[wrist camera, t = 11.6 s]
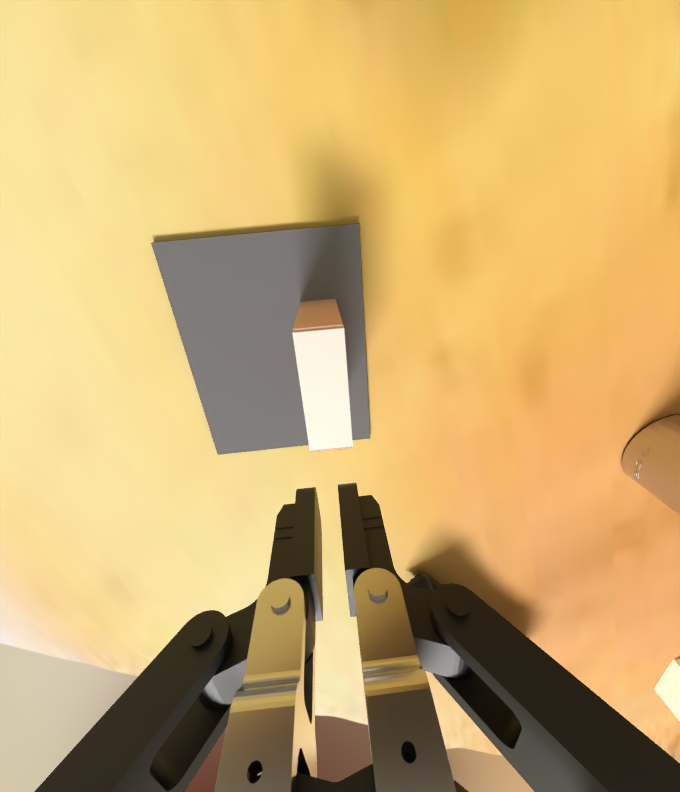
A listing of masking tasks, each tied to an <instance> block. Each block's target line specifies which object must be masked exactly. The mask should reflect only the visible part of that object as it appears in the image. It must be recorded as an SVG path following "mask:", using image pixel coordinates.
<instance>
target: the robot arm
mask: <svg viewBox="0 0 680 792" xmlns="http://www.w3.org/2000/svg"><path fill="white" fill-rule="evenodd" d="M622 467H623V470H624V472H625V473H626V474H627V475H628V476H629V477H631V478H632V479H633V480H635V481H636V482H637V483H638V484H640V485H641V486H642V487H644V488H645V489H646V490H648V491H649V492H650V493H652V494H653V495H654V496H655V497H657V498H658V499H659V500H660V501H662V502H663V503H664V504H666V505H667V506H668V507H670V508H671V509H672V510H674V511H675V512H676V513H677V514H679V515H680V415H673V416H670V417H666V418H663V419H661V420H658V421H656V422H654V423H652V424H651V425H649V426H647V427H646V428H645V429H643V430H642V431H641V432H639V433H638V434H637V435H636V436H635V437H634V438H633V439H632V441H631V442H630V443H629V445H628V446H627V448H626V450H625V452H624V454H623V458H622ZM338 492H339V504H340V516H341V528H342V539H343V551H344V563H345V574H346V582H347V590H348V599H349V607H350V616H351V617H355V616H357V626H358V635H359V645H360V654H361V663H362V672H363V681H364V690H365V699H366V708H367V718H368V727H369V736H370V745H371V754H372V764H371V765H369V766H367V767H365V768H364V769H362V770H360V771H358V772H356V773H354V774H353V775H351V776H349V777H347V778H345V779H344V780H342V781H339V782H329V781H326V780H322V779H319V778H317V755H316V740H315V621H322V620H323V596H322V531H321V518H320V511H319V504H318V498H317V492H316V487H313V488H304V489H297V491H296V502H295V504H287V505H284V506H283V507H282V509H281V510H280V512H279V514H278V515H277V519H276V526H275V533H274V541H273V547H272V554H271V561H270V568H269V575H268V581H267V584H266V587H265V588H264V589H263V591H262V592H261V593H260V595H259V597H258V599H257V600H256V601H255V602H254V603H252V604H251V605H250V606H248V607H246V608H244V609H242V610H240V611H238V612H236V613H233V614H231V615H229V616H227V617H225V616H224V615H223V614H222V613H221V612H219V611H215V610H210V611H205V612H202V613H200V614H198V615H196V616H194V617H193V618H192V619H191V620H189V621H188V622H187V623H186V624H185V625H184V627H183V628H182V629H181V630H180V631H179V632H178V633H177V634H176V635H175V637H174V638H173V639H172V640H171V641H170V642H169V643H168V644H167V645H166V647H165V648H164V649H163V650H162V651H161V652H160V653H159V654H158V655H157V657H156V658H155V659H154V660H153V661H152V662H151V663H150V664H149V665H148V666H147V668H146V669H145V670H144V671H143V672H142V673H141V674H140V675H139V676H138V678H137V679H136V680H135V681H134V682H133V683H132V684H131V685H130V686H129V688H128V689H127V690H126V691H125V692H124V693H123V694H122V695H121V697H120V698H119V699H118V700H117V701H116V702H115V703H114V704H113V705H112V706H111V708H110V709H109V710H108V711H107V712H106V713H105V714H104V715H103V716H102V717H101V719H100V720H99V721H98V722H97V723H96V724H95V725H94V726H93V727H92V729H91V730H90V731H89V732H88V733H87V734H86V735H85V736H84V737H83V739H82V740H81V741H80V742H79V743H78V744H77V745H76V746H75V747H74V748H73V750H72V751H71V752H70V753H69V754H68V755H67V756H66V757H65V758H64V760H63V761H62V762H61V763H60V764H59V765H58V766H57V767H56V768H55V770H54V771H53V772H52V773H51V774H50V775H49V776H48V777H47V778H46V780H45V781H44V782H43V783H42V784H41V785H40V786H39V787H38V788H37V789H36V791H35V792H185V790H186V789H187V787H188V785H189V784H190V782H191V781H192V779H193V778H194V776H195V775H196V773H197V771H198V770H199V768H200V767H201V765H202V764H203V762H204V761H205V759H206V757H207V756H208V754H209V753H210V751H211V750H212V748H213V747H214V745H215V743H216V742H217V740H218V739H219V737H220V736H221V734H222V733H223V731H224V729H225V728H226V726H227V729H226V734H225V739H224V745H223V750H222V755H221V760H220V766H219V771H218V776H217V782H216V787H215V792H468V791H467V790H466V789H465V788H464V787H462V786H461V785H460V784H459V783H457V782H456V781H455V780H453V776H452V772H451V768H450V764H449V760H448V756H447V752H446V748H445V744H444V740H443V737H442V733H441V729H440V725H439V721H438V717H437V713H436V709H435V705H434V701H433V697H432V694H431V690H430V686H429V682H428V679H427V676H426V673H425V671H428V672H431V673H433V675H434V676H435V678H436V679H437V680H438V681H439V682H440V684H441V685H442V686H443V687H444V688H445V689H446V690H447V692H448V693H449V694H450V695H451V696H452V697H453V698H454V700H455V701H456V702H457V703H458V704H459V705H460V707H461V708H462V709H463V710H464V711H465V712H466V713H467V715H468V716H469V717H470V718H471V719H472V720H473V721H474V723H475V724H476V725H477V726H478V727H479V728H480V729H481V731H482V732H483V733H484V734H485V735H486V736H487V737H488V739H489V740H490V741H491V742H492V743H493V744H494V746H495V747H496V748H497V749H498V750H499V751H500V752H501V754H502V755H503V756H504V757H505V758H506V759H507V760H508V762H509V763H510V764H511V765H512V766H513V767H514V768H515V770H516V771H517V772H518V773H519V774H520V775H521V777H522V778H523V779H524V780H525V781H526V782H527V783H528V784H529V786H530V787H531V788H532V789H533V790H534V791H535V792H680V763H678V762H677V761H676V760H675V759H674V758H672V757H671V756H670V755H669V754H668V753H666V752H665V751H664V750H663V749H662V748H660V747H659V746H658V745H657V744H655V743H654V742H653V741H652V740H651V739H649V738H648V737H647V736H646V735H645V734H643V733H642V732H641V731H640V730H639V729H637V728H636V727H635V726H634V725H632V724H631V723H630V722H629V721H628V720H626V719H625V718H624V717H623V716H622V715H620V714H619V713H618V712H617V711H616V710H614V709H613V708H612V707H611V706H610V705H608V704H607V703H606V702H605V701H603V700H602V699H601V698H600V697H599V696H597V695H596V694H595V693H594V692H593V691H591V690H590V689H589V688H588V687H587V686H585V685H584V684H583V683H582V682H581V681H579V680H578V679H577V678H576V677H574V676H573V675H572V674H571V673H570V672H568V671H567V670H566V669H565V668H564V667H562V666H561V665H560V664H559V663H558V662H556V661H555V660H554V659H553V658H552V657H550V656H549V655H548V654H547V653H545V652H544V651H543V650H542V649H541V648H539V647H538V646H537V645H536V644H535V643H533V642H532V641H531V640H530V639H529V638H527V637H526V636H525V635H524V634H523V633H521V632H520V631H519V630H518V629H516V628H515V627H514V626H513V625H512V624H510V623H509V622H508V621H507V620H506V619H504V618H503V617H502V616H501V615H500V614H498V613H497V612H496V611H495V610H494V609H492V608H491V607H490V606H489V605H487V604H486V603H485V602H484V601H483V600H481V599H480V598H479V597H478V596H477V595H475V594H474V593H473V592H472V591H470V590H469V589H467V588H466V587H464V586H461V585H458V584H451V583H450V584H444V585H442V586H440V587H438V588H437V589H436V590H435V591H429V590H425V589H420V588H416V587H413V586H411V585H409V584H407V583H406V582H404V581H403V580H402V579H401V578H400V577H399V576H398V574H397V573H396V571H395V569H394V566H393V562H392V558H391V554H390V550H389V545H388V541H387V537H386V532H385V529H384V524H383V519H382V515H381V511H380V506H379V504H378V503H377V501H376V500H375V499H374V498H373V497H372V495H368V496H359V497H358V491H357V485H356V483H350V484H340V485H338Z"/></svg>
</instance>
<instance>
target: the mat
mask: <svg viewBox="0 0 680 792" xmlns="http://www.w3.org/2000/svg"><path fill="white" fill-rule="evenodd" d="M151 244H152V247H153V250H154V253H155V257H156V260H157V263H158V266H159V269H160V272H161V276H162V279H163V282H164V285H165V288H166V291H167V295H168V298H169V301H170V304H171V307H172V311H173V314H174V317H175V320H176V323H177V326H178V330H179V333H180V336H181V339H182V342H183V345H184V349H185V352H186V355H187V358H188V361H189V365H190V368H191V371H192V374H193V377H194V380H195V384H196V387H197V390H198V393H199V396H200V399H201V403H202V406H203V409H204V412H205V415H206V419H207V422H208V425H209V428H210V431H211V434H212V438H213V441H214V444H215V447H216V450H217V453H218V455H219V454H228V453H238V452H247V451H256V450H266V449H275V448H284V447H293V446H303V445H309V443H308V436H307V429H306V422H305V416H304V409H303V402H302V395H301V388H300V381H299V375H298V368H297V361H296V354H295V347H294V341H293V334H292V332H293V326H294V323H295V319H296V315H297V311H298V308H299V304H300V302H304V301H315V300H326V299H336V303H337V306H338V309H339V313H340V316H341V319H342V323H343V326H344V332H345V346H346V360H347V373H348V387H349V401H350V415H351V429H352V440H359V439H368V438H370V425H369V405H368V386H367V366H366V346H365V327H364V307H363V287H362V268H361V248H360V228H359V223H356V224H345V225H335V226H324V227H313V228H303V229H292V230H282V231H271V232H260V233H250V234H239V235H228V236H218V237H207V238H196V239H186V240H175V241H165V242H154V243H151Z"/></svg>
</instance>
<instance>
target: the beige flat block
mask: <svg viewBox="0 0 680 792" xmlns="http://www.w3.org/2000/svg"><path fill="white" fill-rule="evenodd" d="M292 334H293V341H294V347H295V354H296V361H297V368H298V375H299V381H300V388H301V395H302V402H303V409H304V416H305V422H306V429H307V436H308V443H309V450H310V451H311V452H316V451H326V450H336V449H346V448H352V446H353V442H352V429H351V415H350V401H349V387H348V373H347V360H346V346H345V332H344V326H343V323H342V319H341V316H340V313H339V309H338V306H337V303H336V299H326V300H315V301H304V302H300V304H299V308H298V311H297V315H296V319H295V323H294V326H293V332H292Z"/></svg>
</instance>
